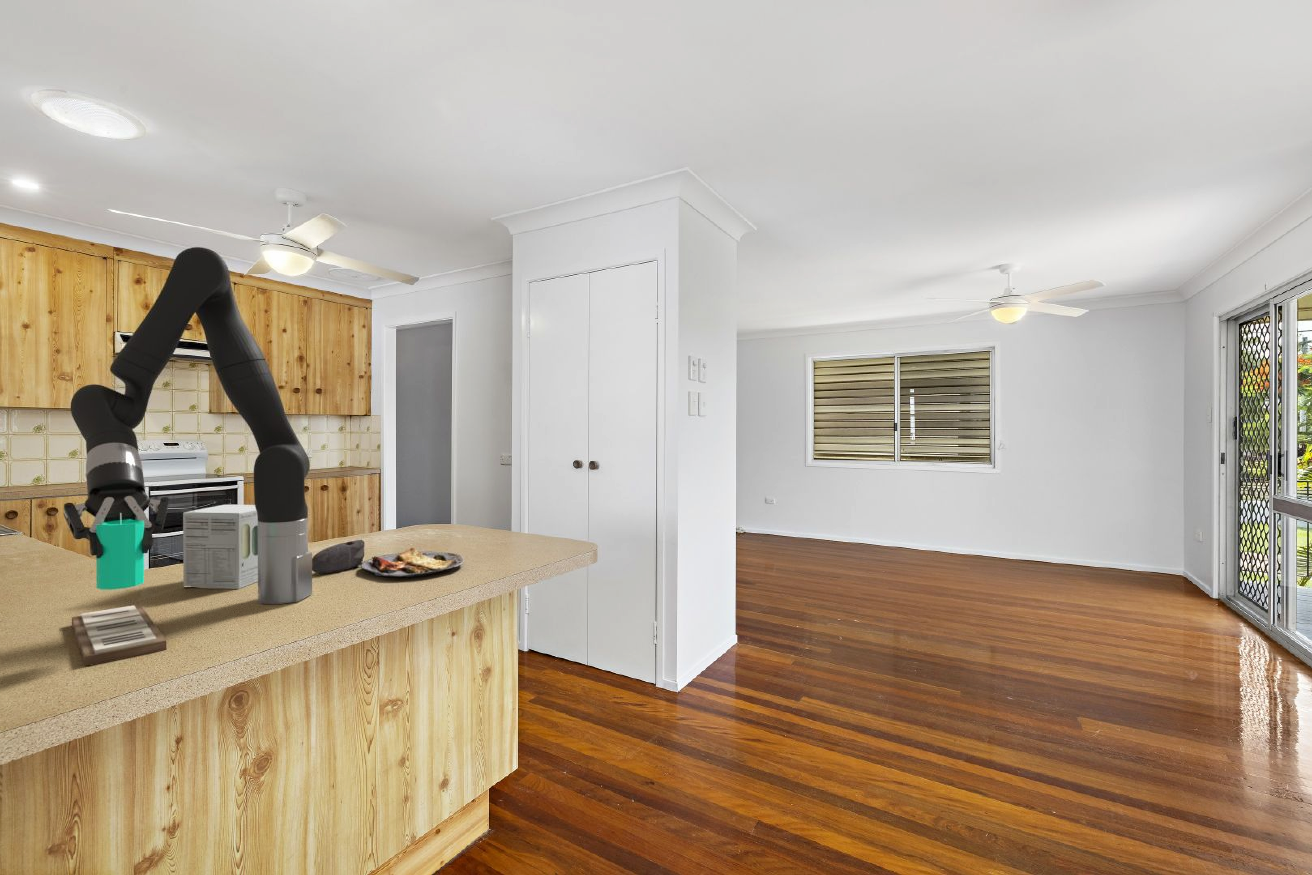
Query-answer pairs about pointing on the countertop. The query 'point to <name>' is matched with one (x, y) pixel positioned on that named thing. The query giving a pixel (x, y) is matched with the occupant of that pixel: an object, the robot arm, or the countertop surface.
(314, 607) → the countertop surface
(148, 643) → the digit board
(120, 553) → the candle
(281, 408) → the robot arm
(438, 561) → the food plate
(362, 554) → the perforated stone tool
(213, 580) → the supplement box
